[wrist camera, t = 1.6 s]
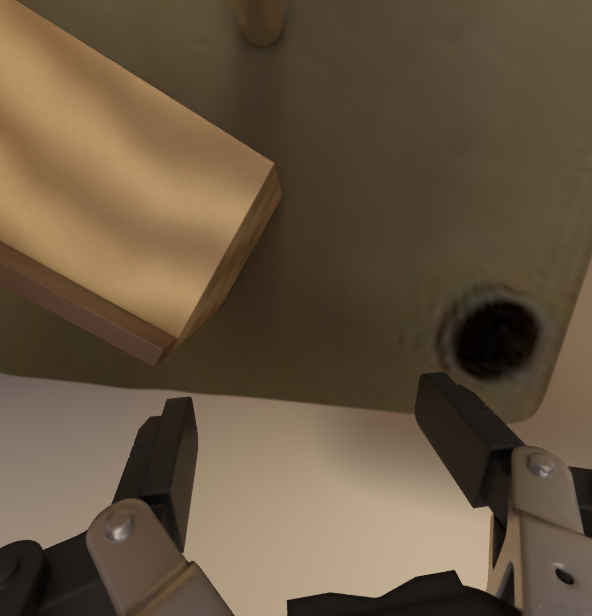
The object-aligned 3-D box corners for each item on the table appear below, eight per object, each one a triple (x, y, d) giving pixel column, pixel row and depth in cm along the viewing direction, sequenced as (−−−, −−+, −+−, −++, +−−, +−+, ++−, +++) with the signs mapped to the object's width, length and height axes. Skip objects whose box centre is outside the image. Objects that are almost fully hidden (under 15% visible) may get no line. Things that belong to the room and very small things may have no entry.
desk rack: (115, 92, 27) (-76, -68, 13) (283, 196, 28) (272, 152, 14) (57, 218, 28) (-165, 196, 15) (218, 310, 30) (154, 368, 16)
